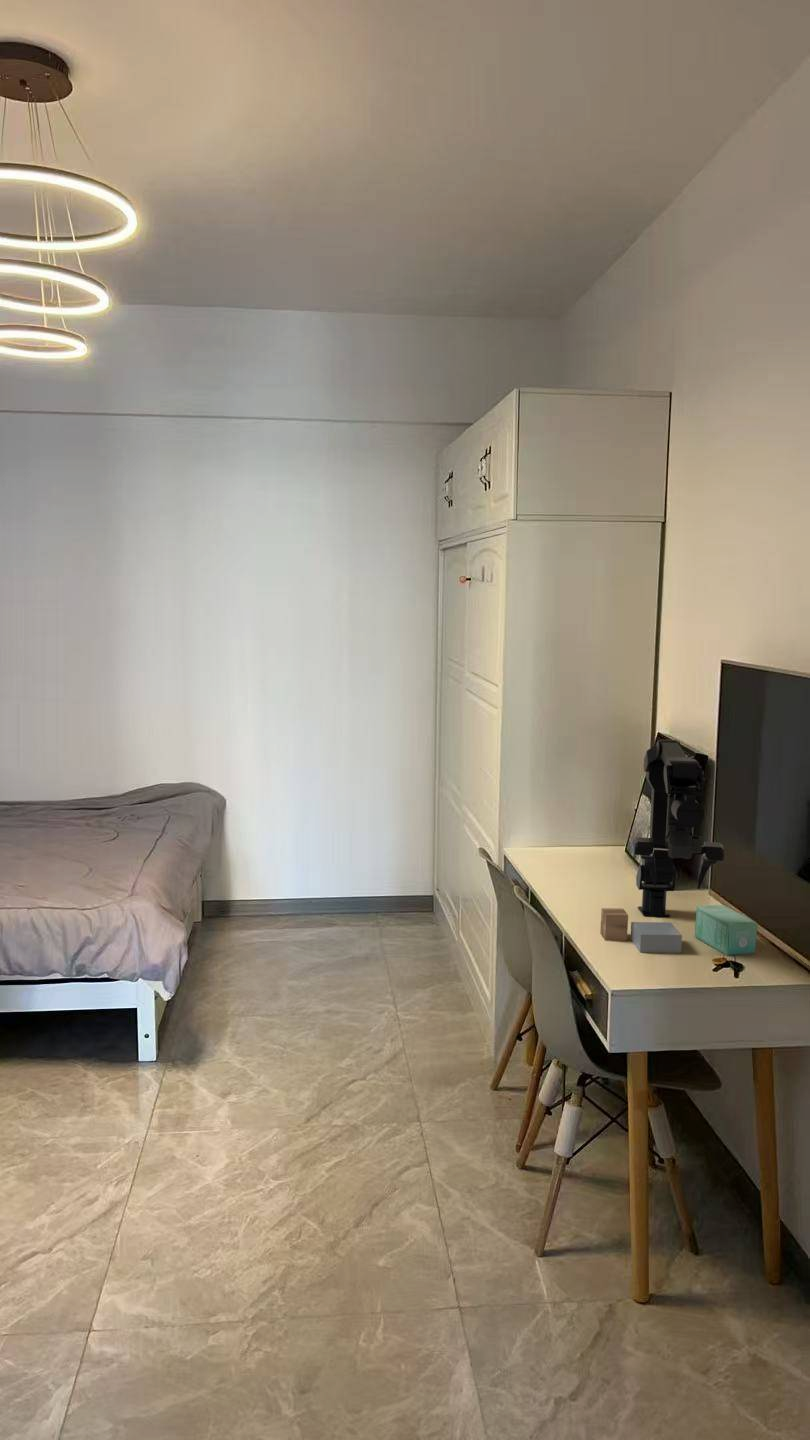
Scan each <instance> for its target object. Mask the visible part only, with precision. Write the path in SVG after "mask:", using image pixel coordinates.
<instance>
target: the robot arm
mask: <svg viewBox="0 0 810 1440" xmlns="http://www.w3.org/2000/svg"><path fill="white" fill-rule="evenodd" d="M643 772H645V778H646V780H647V782H648V784H649V786H650V787H651V795H650V796H651V798H650V799H651V800H650V821H649V837H641V836H640V837H639V836H638V837H636V838H635V839H634V855H637V856H640V859H641V864H639V866H638V870H637V873H636V875H635V881H636V882H635V884H636V887H637V889H638V891H642V898H641V905H640V906H637V909H638V911H639V912H640V913H641V915H642V916H644V917H671V913H670V912H669V911H668V910H667V909H666V908H667V907H666V906H667V891H668V892H669V891H670V892H674V890H676V882H677V877H678V871H676V867H675V866H674V860H673V859H677V858H678V859H685V860H690V859H692V855H701V858H700V863H699V868H698V869H699V870H698V877H697V884H696V886H697V887H696V889H697V890H700V889H701V886H702V884H703V881H704V879H705V877H706V874H707V872H708V870H709V869H710V868H711V866H712V865H716V864H718V862H723V861H724V860H725V859H724V858H725V849H724V846H723V844H722V843H721V842H715V841H704V842H703V837H702V835H701V836H700V835H694V828H696V827H698V826H699V825H700V824H701V823H702V822H703V820H704V818H705V811H704V808H703V806H702V805H701V803H699V802H698V800H697V797H698V796H704V795H705V791H706V789H707V786H706V778H705V772H704V770H703V767H702V766H701V765H700V764H699V762H698V760H697V759H695V758H691V757H687V755H686V754H685V753H684V751H683V749H682V747H681V741H680V740H676V739H660V740H657V742H656V743H655V745H653V746H652V747H650V748H649V749H647V750H646V752H645V754H644V759H643ZM702 842H703V843H702ZM702 844H703V845H702Z"/></svg>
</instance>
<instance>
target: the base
mask: <svg viewBox="0 0 810 1440" xmlns="http://www.w3.org/2000/svg"><path fill="white" fill-rule="evenodd" d="M629 939H630V940H631V942H632V943H633V945H634V946H635V947H636V949H637V950H638V952H639V953H651V954H652V953H655V954H656V953H659V954H660V953H663V954H664V953H665V954H668V953H669V954H671V953H672V954H678V953H679V954H681V953H682V945H683V943H682V941H683V934H681V932H680V931H679V930H678V928H676V926H675V925H674V924H673V923H672V922H671V921H670V922H668V921H667V922H665V921H664V922H662V921H660V922H659V921H657V922H655V921H653V922H652V921H650V922H649V921H631V922H630V937H629Z"/></svg>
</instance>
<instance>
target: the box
mask: <svg viewBox="0 0 810 1440" xmlns="http://www.w3.org/2000/svg"><path fill="white" fill-rule="evenodd" d="M694 925H695V926H694V937H695V938H697V939H698V940H700V941H701V942H703V943H706V944H707V945H708V946H711V947H712V948H714V949H715V950H717V951H719V952H720V953H722V954H724V955H725V956H727V957H729V956H739V955H740V956H741V955H750V954H751V955H752V954H755V953H756V948H757V940H758V939H757V938H758V923H757V922H756V921H755V920H753V919H751V918H748V917H747V916H745V915H743V914H741V913H739V912H737V911H735V910H734V909H732V908H729V907H728V906H727V905H724V904H722V905H721V904H720V905H719V904H717V905H699V906H696V915H695V923H694Z"/></svg>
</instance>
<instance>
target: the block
mask: <svg viewBox="0 0 810 1440" xmlns="http://www.w3.org/2000/svg"><path fill="white" fill-rule="evenodd" d="M600 911H601V912H600V930H599V931H600V935H601V937H602V938H603V940H604V941H609V942H610V941H614V942H615V941H616V942H617V941H619V942H620V941H621V942H623V941H624V942H625V941H628V926H629V925H628V924H629V914H628V913H627V911H626V910H625V909H624V908H616V907H615V908H612V907H608V908H605V907H601V909H600Z"/></svg>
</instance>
